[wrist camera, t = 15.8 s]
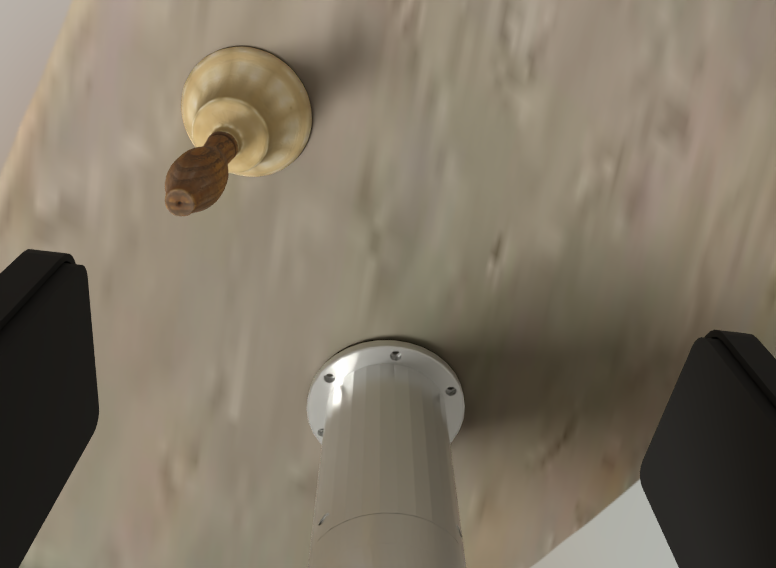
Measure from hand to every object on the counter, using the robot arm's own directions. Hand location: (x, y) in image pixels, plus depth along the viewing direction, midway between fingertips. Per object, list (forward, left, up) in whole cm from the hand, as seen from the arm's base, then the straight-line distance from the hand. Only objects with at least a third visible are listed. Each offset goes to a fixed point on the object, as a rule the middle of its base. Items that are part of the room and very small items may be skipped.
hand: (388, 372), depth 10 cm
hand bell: (-6, +8, -35) cm, 36 cm away
